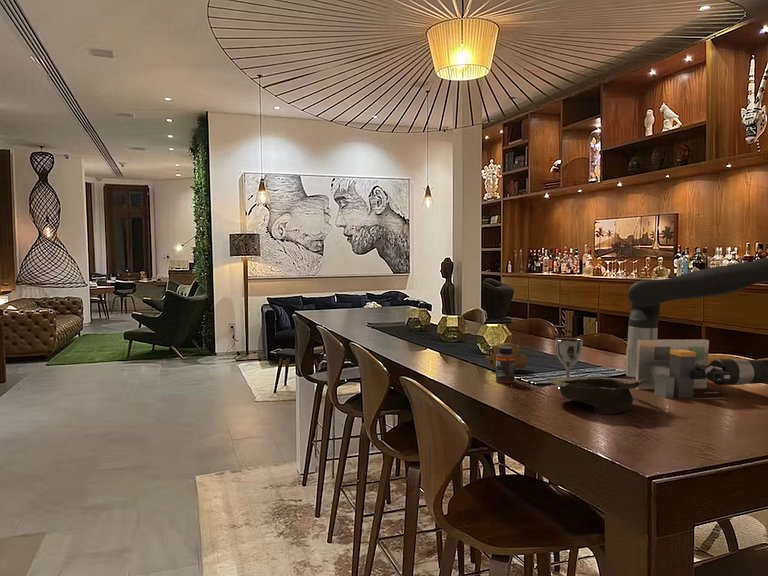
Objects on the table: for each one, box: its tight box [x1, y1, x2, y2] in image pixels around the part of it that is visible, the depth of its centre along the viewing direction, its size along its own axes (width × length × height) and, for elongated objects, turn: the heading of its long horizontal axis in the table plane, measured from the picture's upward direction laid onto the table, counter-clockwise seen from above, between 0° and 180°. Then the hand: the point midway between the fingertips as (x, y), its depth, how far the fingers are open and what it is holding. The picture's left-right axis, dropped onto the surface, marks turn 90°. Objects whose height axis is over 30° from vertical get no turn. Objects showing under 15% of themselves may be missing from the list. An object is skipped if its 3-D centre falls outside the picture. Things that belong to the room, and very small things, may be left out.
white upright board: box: [635, 339, 725, 400], centre depth 170 cm, size 23×15×16 cm
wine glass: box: [554, 337, 583, 390], centre depth 180 cm, size 8×8×15 cm
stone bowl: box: [547, 376, 646, 415], centre depth 158 cm, size 25×25×9 cm
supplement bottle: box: [495, 347, 516, 385], centre depth 186 cm, size 6×6×11 cm
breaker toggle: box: [669, 350, 696, 399], centre depth 167 cm, size 5×5×13 cm
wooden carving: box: [483, 342, 530, 370], centre depth 206 cm, size 16×5×10 cm, turn 108°
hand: (680, 372), depth 167 cm, fingers open, 8 cm apart
